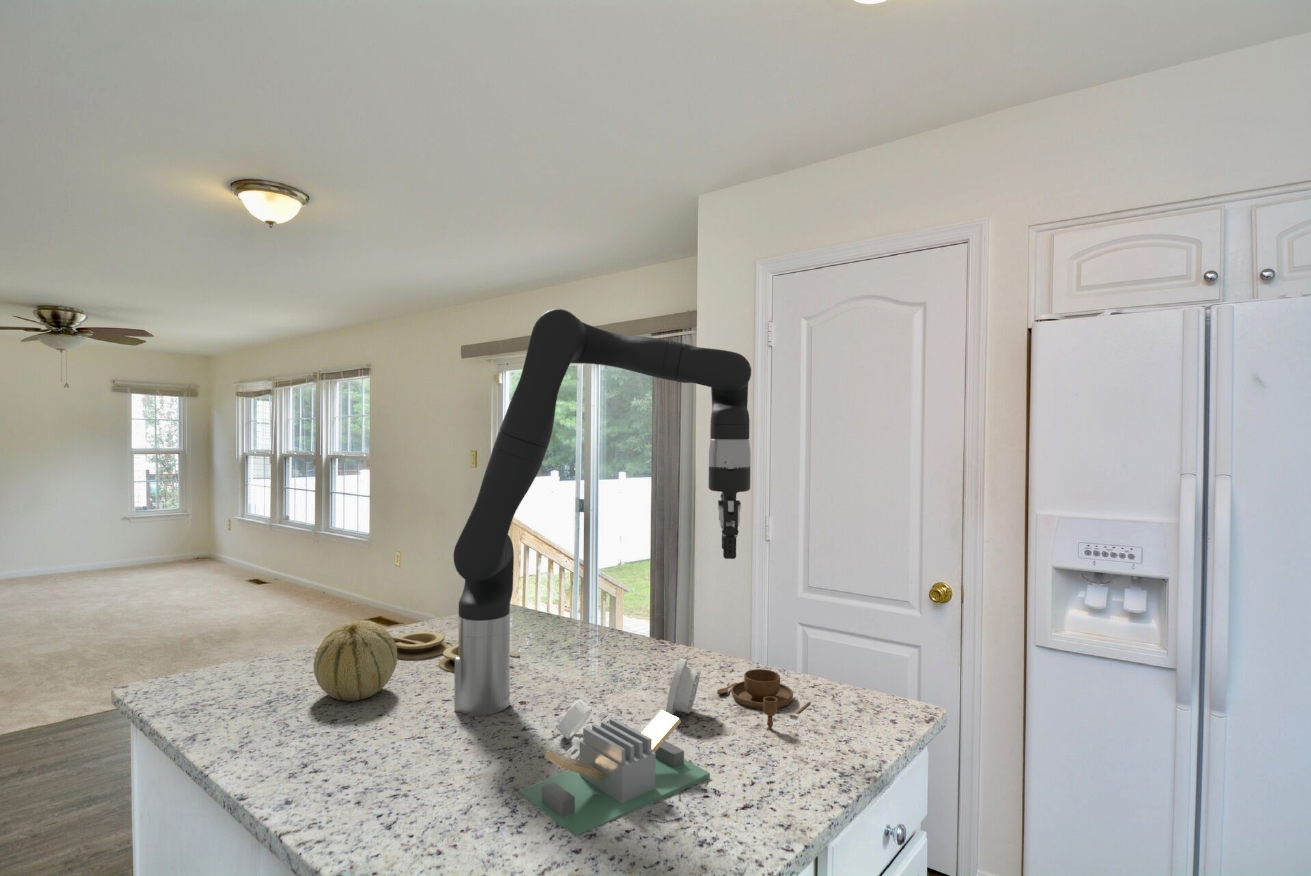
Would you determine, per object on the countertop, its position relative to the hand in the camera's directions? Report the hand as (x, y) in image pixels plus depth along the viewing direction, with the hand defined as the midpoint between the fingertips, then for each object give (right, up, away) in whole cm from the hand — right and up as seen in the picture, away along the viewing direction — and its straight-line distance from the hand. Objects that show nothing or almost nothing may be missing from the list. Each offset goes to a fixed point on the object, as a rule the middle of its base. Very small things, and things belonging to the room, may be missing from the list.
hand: (728, 553), depth 124 cm
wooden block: (-13, -24, -21) cm, 34 cm away
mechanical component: (-9, -30, +1) cm, 31 cm away
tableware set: (-61, -30, +32) cm, 76 cm away
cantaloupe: (-71, -29, +8) cm, 77 cm away
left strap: (-24, -24, -30) cm, 46 cm away
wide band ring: (-27, -30, -10) cm, 42 cm away
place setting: (+6, -30, +6) cm, 32 cm away
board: (-19, -30, -25) cm, 44 cm away
